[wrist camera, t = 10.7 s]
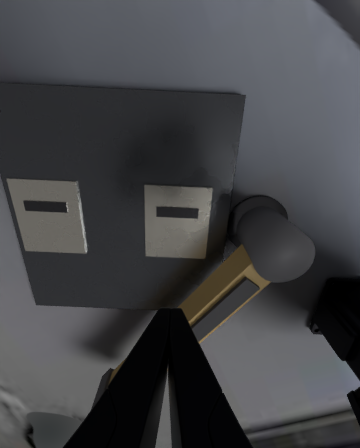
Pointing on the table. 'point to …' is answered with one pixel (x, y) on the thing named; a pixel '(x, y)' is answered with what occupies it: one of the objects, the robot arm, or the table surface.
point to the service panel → (120, 191)
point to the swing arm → (244, 273)
